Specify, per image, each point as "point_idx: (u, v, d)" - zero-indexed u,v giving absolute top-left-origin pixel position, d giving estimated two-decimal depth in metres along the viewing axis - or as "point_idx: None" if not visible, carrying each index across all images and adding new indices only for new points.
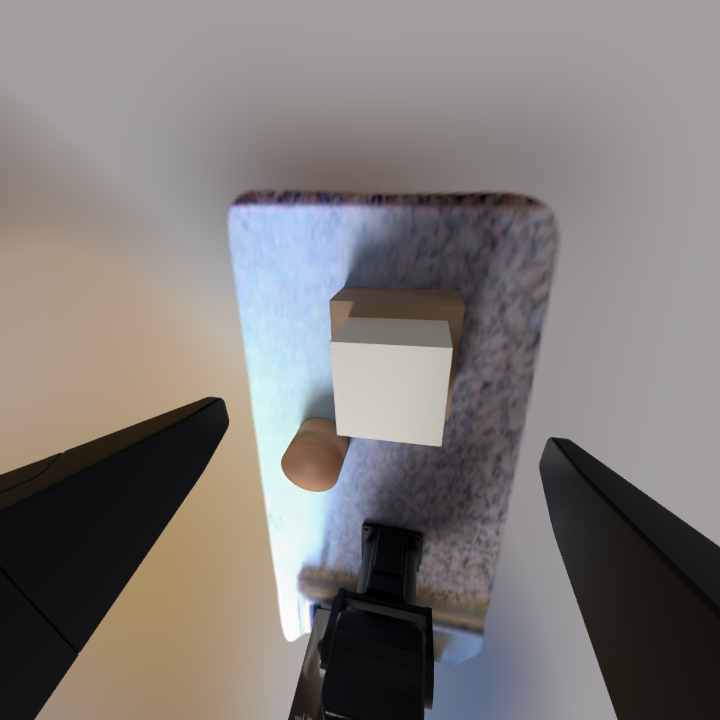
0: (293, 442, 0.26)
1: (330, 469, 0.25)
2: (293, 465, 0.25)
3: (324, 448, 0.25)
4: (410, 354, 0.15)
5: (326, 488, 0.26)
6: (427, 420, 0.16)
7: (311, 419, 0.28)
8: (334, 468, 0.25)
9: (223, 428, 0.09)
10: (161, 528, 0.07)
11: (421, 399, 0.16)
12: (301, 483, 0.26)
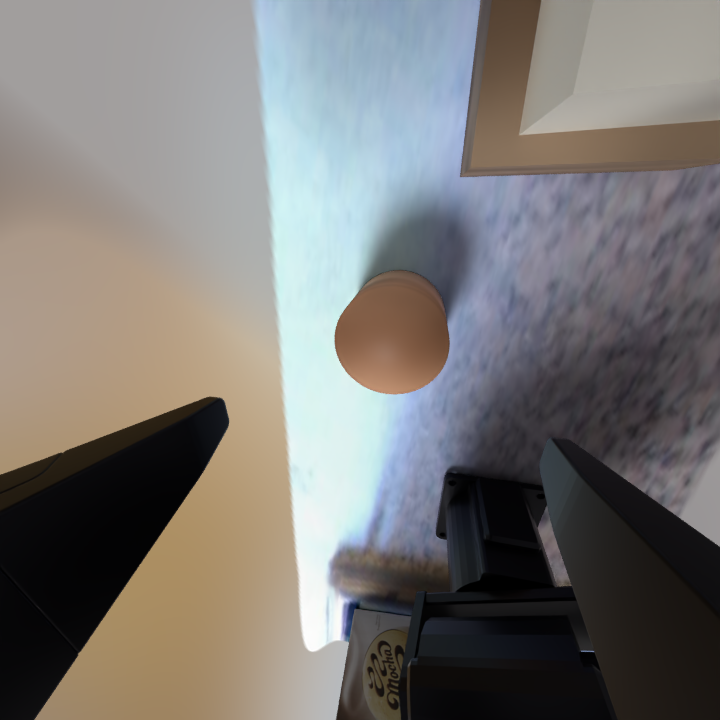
0: (358, 295, 0.13)
1: (434, 338, 0.13)
2: (358, 337, 0.13)
3: (424, 295, 0.12)
4: None
5: (418, 385, 0.14)
6: None
7: (381, 274, 0.16)
8: (443, 334, 0.12)
9: (223, 428, 0.09)
10: (161, 528, 0.07)
11: None
12: (370, 379, 0.14)
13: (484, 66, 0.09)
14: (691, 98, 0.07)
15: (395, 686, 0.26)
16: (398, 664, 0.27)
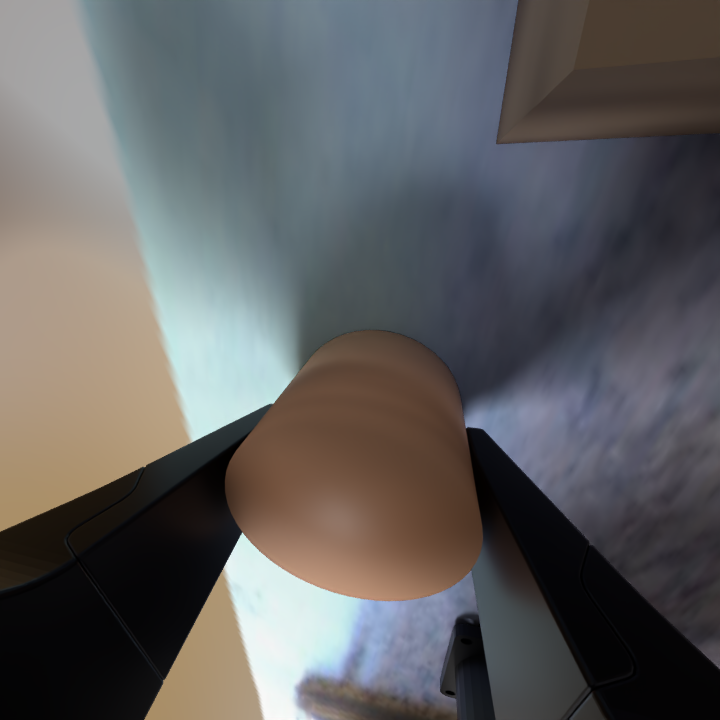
0: (276, 405, 0.06)
1: (447, 527, 0.05)
2: (275, 503, 0.06)
3: (422, 427, 0.05)
4: None
5: (410, 594, 0.06)
6: None
7: (341, 338, 0.08)
8: (468, 522, 0.05)
9: None
10: (233, 544, 0.07)
11: None
12: (309, 570, 0.07)
13: None
14: None
15: None
16: None
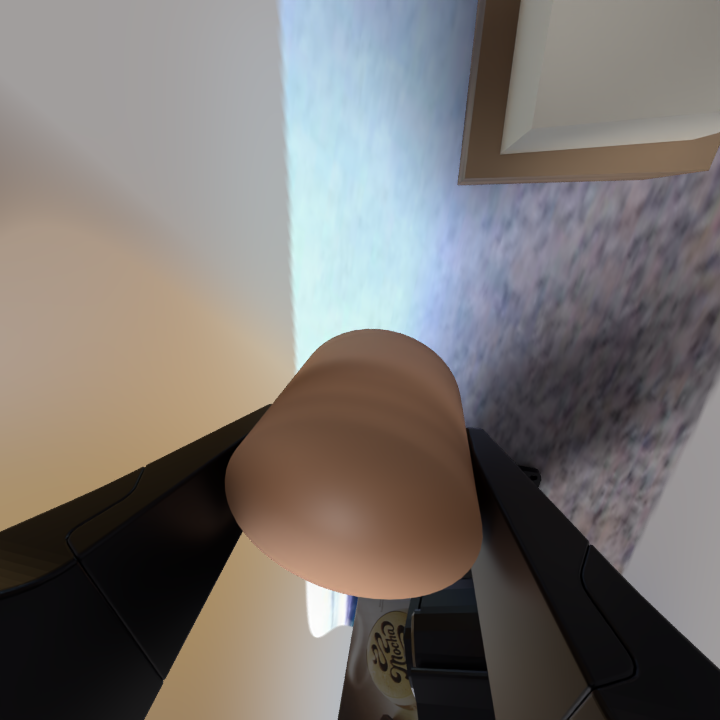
0: (276, 404, 0.06)
1: (447, 525, 0.05)
2: (275, 502, 0.06)
3: (422, 426, 0.05)
4: None
5: (410, 592, 0.06)
6: None
7: (341, 337, 0.08)
8: (467, 520, 0.05)
9: None
10: (234, 544, 0.07)
11: None
12: (308, 569, 0.07)
13: (475, 96, 0.11)
14: (627, 129, 0.08)
15: (398, 662, 0.27)
16: (400, 642, 0.28)
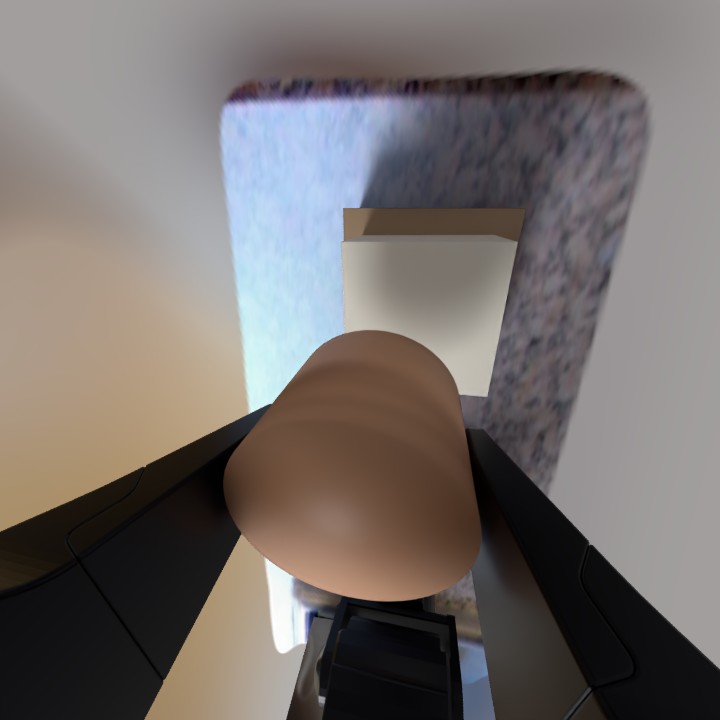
0: (274, 405, 0.06)
1: (446, 527, 0.05)
2: (274, 503, 0.06)
3: (421, 428, 0.05)
4: (455, 255, 0.10)
5: (409, 594, 0.06)
6: (471, 358, 0.12)
7: (340, 338, 0.08)
8: (466, 523, 0.05)
9: None
10: (233, 544, 0.07)
11: (465, 326, 0.11)
12: (307, 570, 0.07)
13: None
14: None
15: None
16: None
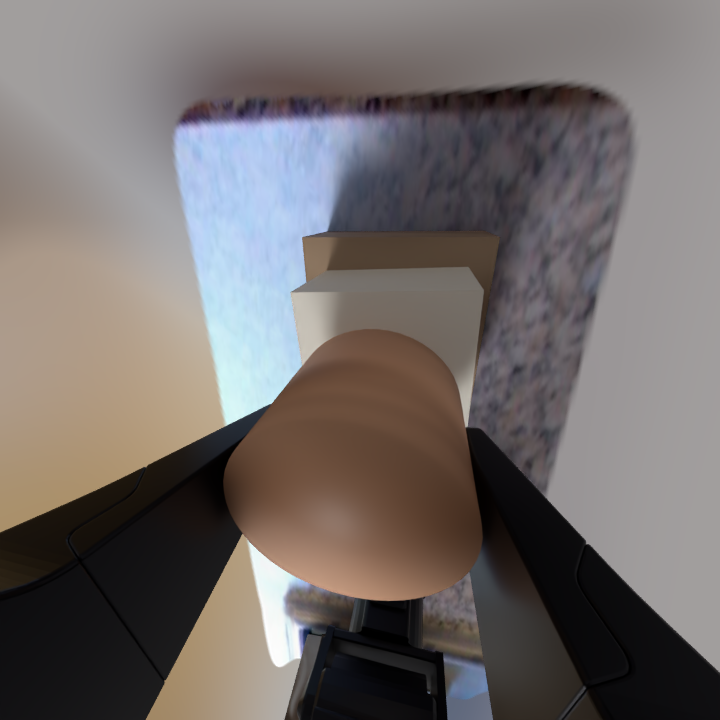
0: (275, 404, 0.06)
1: (446, 526, 0.05)
2: (274, 503, 0.06)
3: (421, 426, 0.05)
4: (416, 305, 0.09)
5: (409, 593, 0.06)
6: None
7: (340, 337, 0.08)
8: (467, 522, 0.05)
9: None
10: (234, 544, 0.07)
11: None
12: (308, 570, 0.07)
13: None
14: None
15: None
16: None
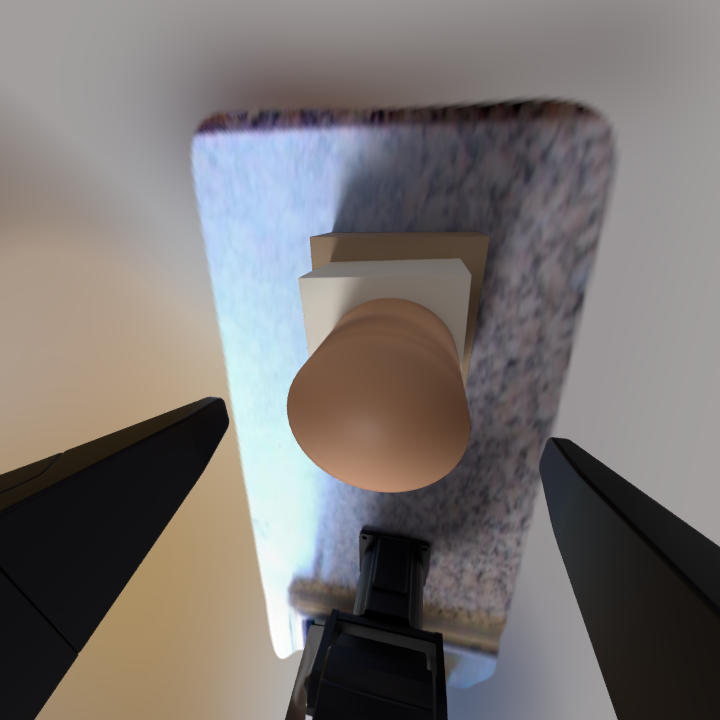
0: (323, 344, 0.08)
1: (446, 420, 0.08)
2: (324, 412, 0.08)
3: (428, 350, 0.07)
4: (411, 288, 0.10)
5: (420, 483, 0.09)
6: None
7: (364, 304, 0.11)
8: (460, 415, 0.08)
9: (223, 428, 0.09)
10: (161, 528, 0.07)
11: None
12: (344, 470, 0.09)
13: None
14: None
15: None
16: None
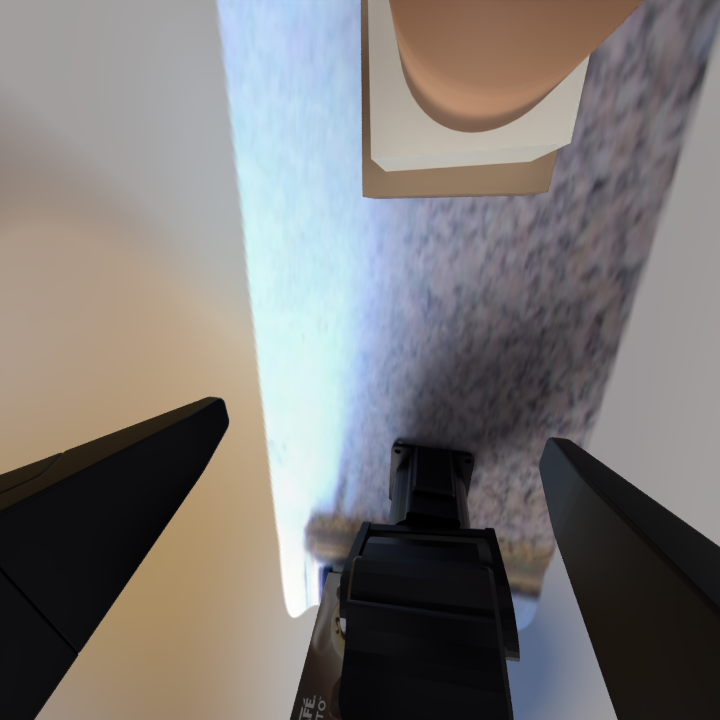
0: None
1: None
2: None
3: None
4: None
5: (593, 34, 0.05)
6: None
7: None
8: None
9: (223, 428, 0.09)
10: (161, 528, 0.07)
11: None
12: (459, 40, 0.06)
13: (362, 130, 0.13)
14: (453, 157, 0.11)
15: None
16: None
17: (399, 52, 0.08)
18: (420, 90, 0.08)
